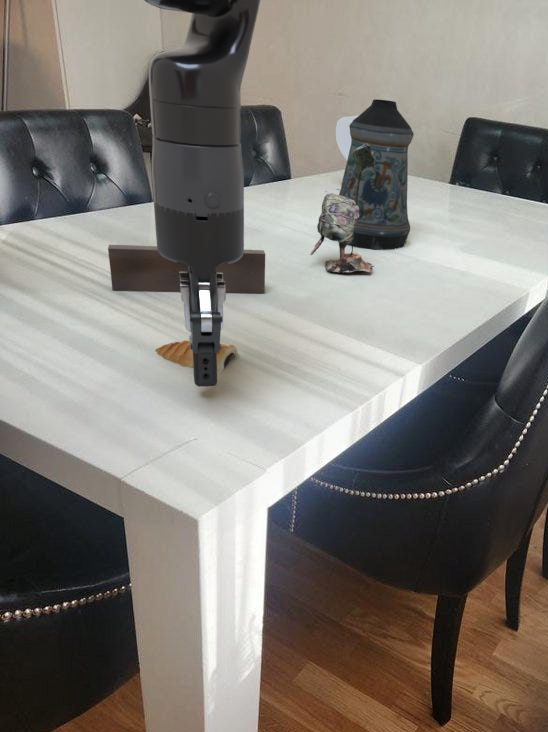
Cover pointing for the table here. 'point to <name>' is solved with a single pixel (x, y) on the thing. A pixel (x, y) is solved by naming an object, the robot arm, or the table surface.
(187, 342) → the pastry
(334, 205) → the bird figurine
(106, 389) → the table surface
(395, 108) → the beer stein
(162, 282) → the backstop
